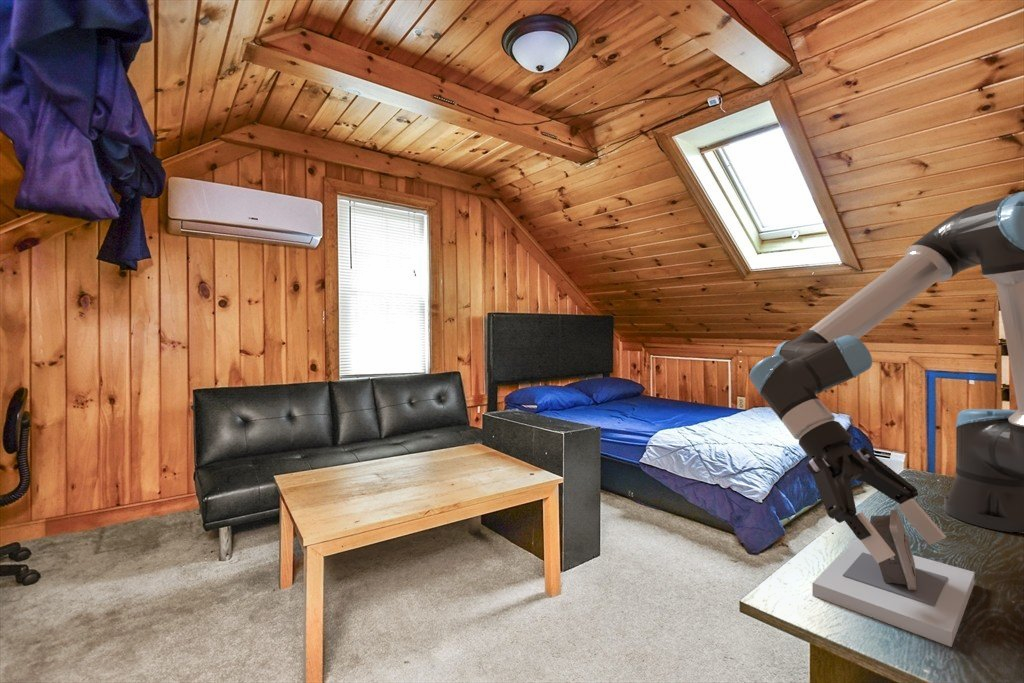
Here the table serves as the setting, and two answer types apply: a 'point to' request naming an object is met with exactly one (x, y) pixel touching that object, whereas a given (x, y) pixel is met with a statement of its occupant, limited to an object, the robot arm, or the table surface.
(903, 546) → the electrical switch
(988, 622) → the table surface
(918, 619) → the mounting board
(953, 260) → the robot arm
